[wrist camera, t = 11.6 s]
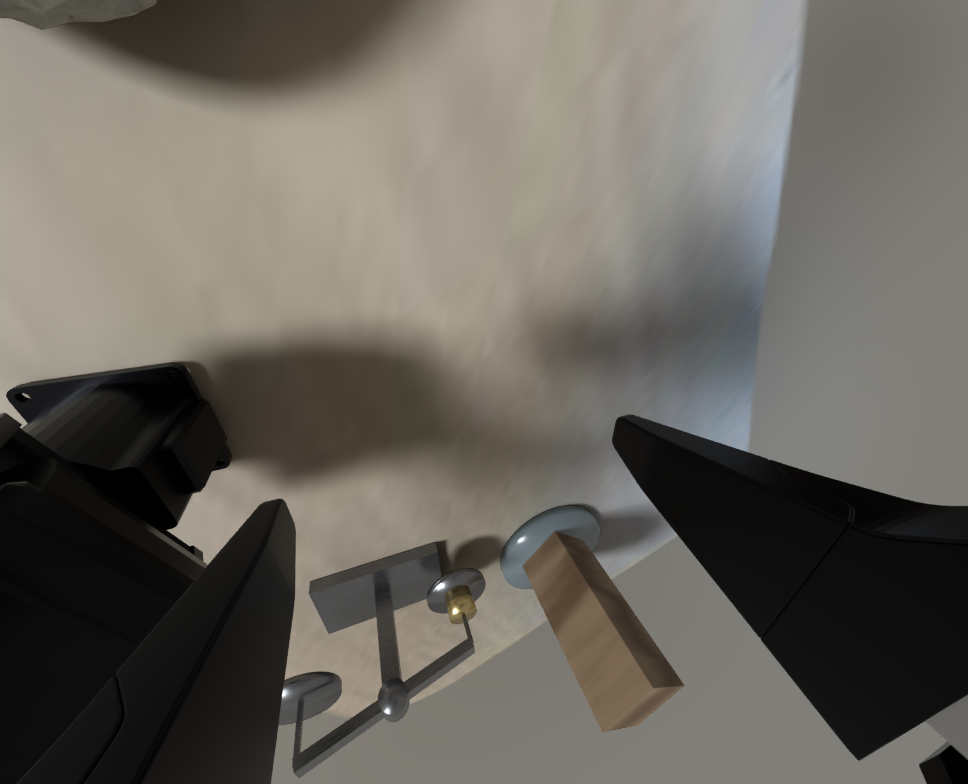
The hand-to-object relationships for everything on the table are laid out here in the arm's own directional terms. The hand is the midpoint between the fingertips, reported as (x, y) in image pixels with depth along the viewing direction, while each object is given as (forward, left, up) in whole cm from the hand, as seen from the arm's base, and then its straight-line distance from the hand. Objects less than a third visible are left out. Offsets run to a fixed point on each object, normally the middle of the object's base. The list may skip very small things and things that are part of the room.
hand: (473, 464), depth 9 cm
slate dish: (+11, -26, -13) cm, 31 cm away
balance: (-5, -23, -13) cm, 27 cm away
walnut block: (+11, -26, -12) cm, 31 cm away
